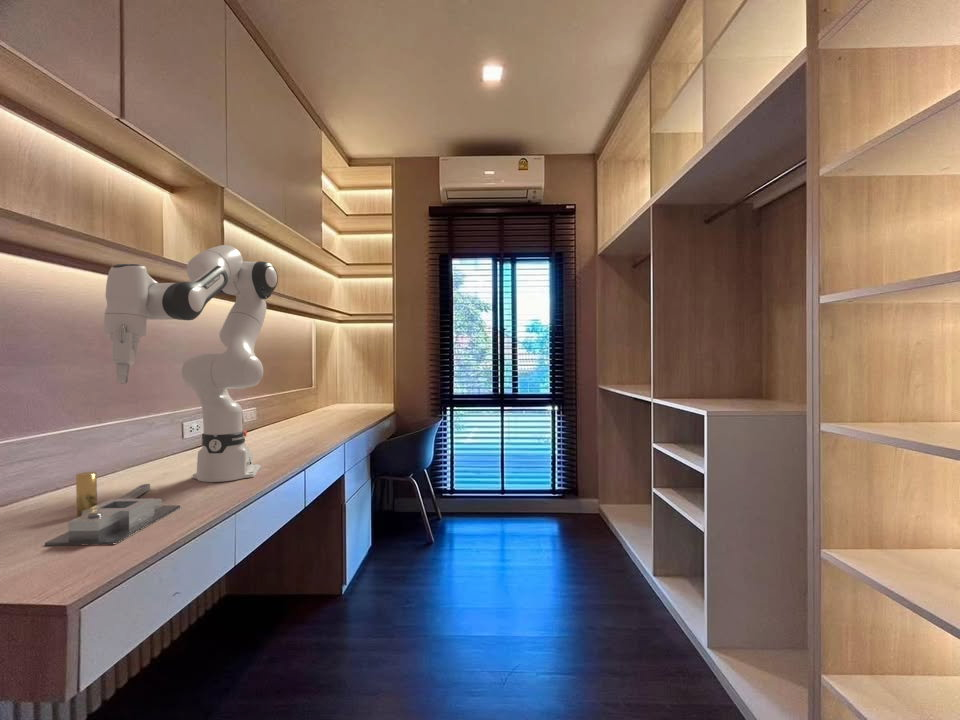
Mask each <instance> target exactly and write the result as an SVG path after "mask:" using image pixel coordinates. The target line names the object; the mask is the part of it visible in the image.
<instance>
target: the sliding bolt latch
mask: <svg viewBox="0 0 960 720" xmlns="http://www.w3.org/2000/svg"><path fill="white" fill-rule="evenodd" d="M162 503H163V502H162V498H153V497H152V498H150V497H149V498H135V499H119V498H110V499H108V500H105V501H103V502H100V503H99V504H98V503H97V505H96V506H94V507H91V508H89V509H87V510H84V511H82V516H80V517H77V516H76V517H75V518H73V519H71V520H68V531H67V532H65V533H63V534H61V535H59V536H56V537H54V538H52V539H50V540H47V541H46V542H44V546H46V547H47V546H48V547H50V546H51V547H52V546H53V547H55V546H59V545H60V546H81V545H80V544H113V543H117V542H119V541H121V540H123V539H124V538H126V537H128V536H129V535H131V534H133V533H135V532H136V531H138V530H140V529H141V528H143V527H145V526H147V525H149V524H151V523H152V524H154V523H155V522H154V521H156V520H158V519H159V520H161V519H163V518H164V516H165V515H166V516H168V515H170V514H172V513H173V512H175V511H177V510H179V509H180V508H181V505H179V504H178V505H176V504H175V505H172V504H171V505H170V504H169V505H162ZM178 508H179V509H178ZM176 509H177V510H176ZM171 512H172V513H171ZM169 513H170V514H169ZM167 514H168V515H167ZM166 516H165V517H166ZM162 517H163V518H162ZM160 518H161V519H160ZM159 520H158V521H159ZM153 522H154V523H153ZM156 522H157V521H156ZM152 524H151V525H152ZM149 526H150V525H149ZM147 527H148V526H147ZM145 528H146V527H145ZM140 531H141V530H140ZM138 532H139V531H138ZM135 534H136V533H135ZM133 535H134V534H133ZM131 536H132V535H131ZM128 538H129V537H128ZM126 539H127V538H126ZM124 540H125V539H124ZM124 540H123V541H124ZM121 542H122V541H121ZM119 543H120V542H119ZM117 544H118V543H117Z"/></svg>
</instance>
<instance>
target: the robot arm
mask: <svg viewBox="0 0 960 720" xmlns="http://www.w3.org/2000/svg"><path fill="white" fill-rule="evenodd" d="M186 272H187V273H186V274H187V275H188V276H187V277H188V278H189V280H190V281H179V282H158V281H156V280H155V279H153V277H151V276H150V274H149V273H148V270H147V267H146V266H145V265H143V264H138V263H129V264H128V263H124V264H123V263H121V264H120V263H119V264H114V265H113V266H111V267H110V269H109V271H108V273H107V278H106V284H105V285H106V286H105V300H106V308H105V310H104V315H103V334H104V335H105V334H106V335H108V336H109V338H108V340H109V341H111V342H112V347H111V349H112V350H111V362H112V363H114V365H116V366H115V370H116V371H115V372H116V383H118V384H124V385H125V384H128V383H129V374H130V367H134V363H135V360H136V356H137V350H138V345H139V342H141V338H142V337H145V336H146V335H147V322H148V321H149V320H155V321H156V320H159V321H160V320H161V321H162V320H163V321H164V320H165V321H166V320H177V321H178V320H179V321H193V320H195V319H196V318H198V317H199V316H200V315H201V313H202V312H203V310H204V308H205V306H206V305H207V304H208V303H209V302H210V301H211V300H212V299H214V297H216V295H218V294H219V295H220V294H221V295H224V296H231V295H233V296H235V302H234V303H233V305H232V307H231V308H230V310H229V312H228V313H227V316H226V318H225V320H224V323H223V325H222V327H221V329H220V331H219V333H218V334H219V340H220V342H221V343H222V345H223V346H224V347H225V348H226V349H225V351H224V352H223V353H202V354H201V353H200V354H197V355H193V356H189V357H187V358H186V359H185V360H184V361H183V363H182V366H181V377H182V379H183V381H184V382H185V383H186V384H187V385H188V386H189V387H191V389H192V390H193V391H194V392H195V394H196V397H198V400H199V402H200V407H201V409H202V410H201V411H202V421H203V422H202V423H203V433H202V434H201V445H202V448H200V449H199V450H198V452H197V457H196V460H197V461H196V472H195V473H193V474H192V475H191V478H192V479H197V480H198V481H199V482H203V483H204V482H205V483H207V482H209V483H217V482H218V483H219V482H230V481H237V480H242V479H248V478H254V477H255V476H256V474H257V473H258V472H259V471H260V469H261V467H262V466H261V464H257V463H254V452H253V450H251V449H250V448H249V446H248V445H247V444H246V438H245V437H247V435H248V433H247V432H248V431H247V430H243V409H242V406H241V404H239V403H238V402H237V401H235V400H233V398H232V397H231V396H230V393H229V390H228V389H231V390H235V389H237V390H242V389H249V388H252V387H255V386H258V385H259V383H260V382H261V380H262V379H263V376H264V367H263V363H262V361H261V360H260V359H259V358H258V357H257V355H256V353H255V345H256V343H257V340H258V337H259V336H260V332H261V330H262V328H263V326H264V325H263V324H264V323H265V322H264V321H265V318H266V314H267V302H266V301H265V300H267V299H269V298H270V297H271V295H272V293H274V291H275V289H276V287H277V285H278V283H279V275H278V272H277V270H276V268H275V266H274V265H273V264H272V263H270V262H267V261H266V262H265V261H261V260H259V261H250V260H248V261H246V260H245V261H244V259H243V255H242V254H241V252H240V251H239V250H238V249H237V248H236V247H234V246H232V245H229V244H222V245H217V246H213V247H210V248H208V249H205V250H203V251H202V252H199V253H197V254H195V255H194V256H193V257H191V259H190V260H189V261H188V262H187V265H186ZM147 320H148V321H147Z"/></svg>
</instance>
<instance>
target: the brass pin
mask: <svg viewBox="0 0 960 720" xmlns="http://www.w3.org/2000/svg"><path fill="white" fill-rule="evenodd" d="M97 474H98V473H97V472H95V471H85V472H80V473H77V474H75V485H76V487H75V488H76V492H75V493H76V496H75V497H76V517H77V516H78V517H80V516H82V511H84V510H87V509H89V508H91V507H94V506H96V505H98V489H97V488H98V480H97V479H98V477H97Z"/></svg>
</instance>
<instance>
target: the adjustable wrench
mask: <svg viewBox="0 0 960 720" xmlns="http://www.w3.org/2000/svg"><path fill="white" fill-rule="evenodd" d="M150 489H151V484H150V483H145V484H141V485H139V486H136V487H135V488H134V489H132V490H131V491H129V492H127V493H126V494H124V495H122V496H121V497H120V498H118V499H138V497H140V496H141V495H144V494H145V493H146V492H148V491H149V490H150Z"/></svg>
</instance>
